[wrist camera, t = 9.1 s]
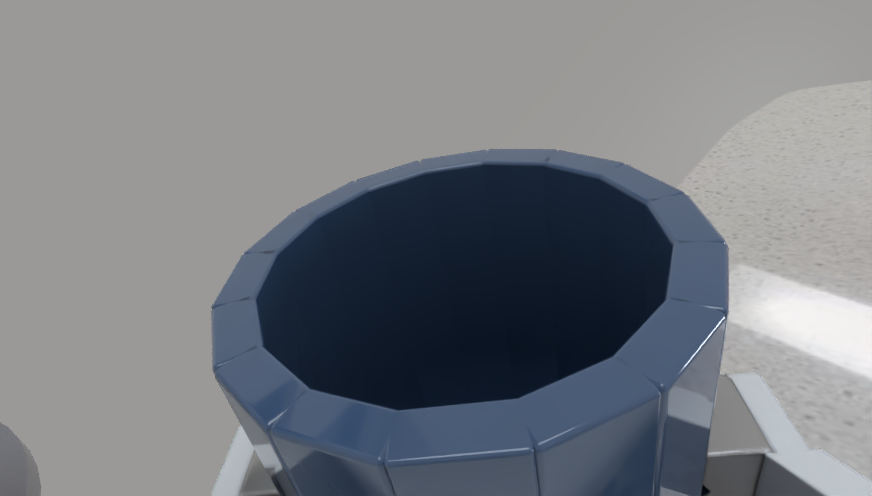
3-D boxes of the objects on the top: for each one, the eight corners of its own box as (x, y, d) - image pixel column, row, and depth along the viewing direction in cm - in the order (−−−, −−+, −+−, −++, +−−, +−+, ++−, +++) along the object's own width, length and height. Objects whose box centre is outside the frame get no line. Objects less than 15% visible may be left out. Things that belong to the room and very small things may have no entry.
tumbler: (367, 808, 10) (98, 490, 5) (396, 492, 15) (285, 178, 10) (725, 802, 9) (878, 421, 4) (624, 473, 15) (633, 125, 9)
